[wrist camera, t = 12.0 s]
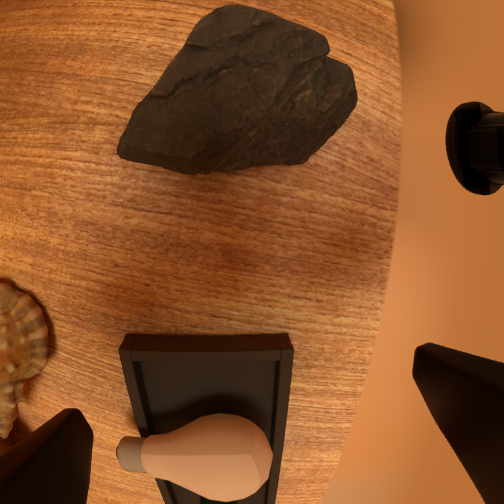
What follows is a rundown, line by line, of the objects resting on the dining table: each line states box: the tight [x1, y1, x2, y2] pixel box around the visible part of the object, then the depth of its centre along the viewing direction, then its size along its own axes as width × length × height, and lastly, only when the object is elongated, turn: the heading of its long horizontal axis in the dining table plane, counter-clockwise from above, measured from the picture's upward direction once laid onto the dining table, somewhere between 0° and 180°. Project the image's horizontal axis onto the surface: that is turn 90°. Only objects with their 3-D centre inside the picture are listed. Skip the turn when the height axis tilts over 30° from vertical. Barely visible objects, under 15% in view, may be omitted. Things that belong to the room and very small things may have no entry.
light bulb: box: [116, 413, 273, 502], centre depth 17 cm, size 7×7×11 cm
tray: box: [119, 334, 294, 504], centre depth 22 cm, size 11×32×2 cm, turn 179°
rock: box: [117, 4, 358, 175], centre depth 15 cm, size 10×6×10 cm
